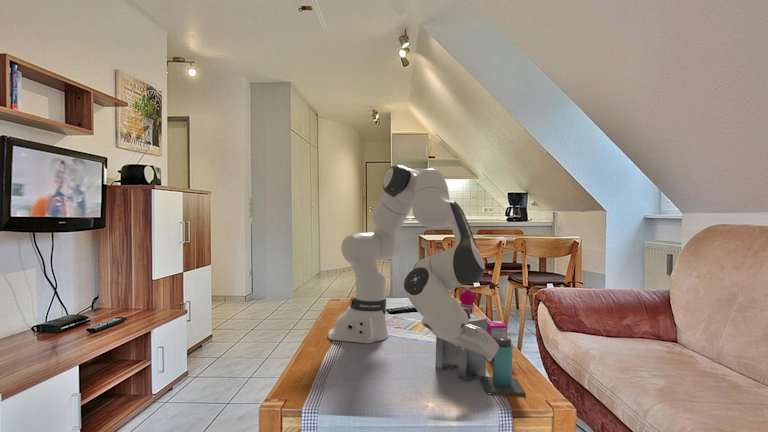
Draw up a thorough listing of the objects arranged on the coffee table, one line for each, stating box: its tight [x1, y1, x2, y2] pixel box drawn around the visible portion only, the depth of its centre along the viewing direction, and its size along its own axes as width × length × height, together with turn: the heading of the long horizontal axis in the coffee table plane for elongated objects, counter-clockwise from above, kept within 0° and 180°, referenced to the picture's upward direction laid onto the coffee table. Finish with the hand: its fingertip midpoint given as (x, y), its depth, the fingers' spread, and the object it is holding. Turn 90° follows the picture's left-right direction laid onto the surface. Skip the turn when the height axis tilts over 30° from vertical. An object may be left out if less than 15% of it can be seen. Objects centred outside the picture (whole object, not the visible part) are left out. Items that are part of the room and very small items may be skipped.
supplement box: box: [487, 320, 508, 361], centre depth 145 cm, size 6×6×12 cm
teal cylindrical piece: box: [492, 337, 514, 388], centre depth 121 cm, size 5×5×12 cm
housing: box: [435, 307, 488, 382], centre depth 131 cm, size 8×13×19 cm, turn 34°
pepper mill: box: [458, 285, 477, 314], centre depth 163 cm, size 7×7×20 cm
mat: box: [480, 376, 526, 397], centre depth 121 cm, size 10×10×1 cm
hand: (476, 353), depth 114 cm, fingers open, 8 cm apart
